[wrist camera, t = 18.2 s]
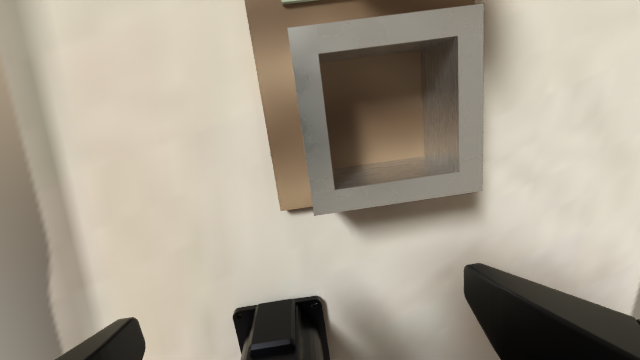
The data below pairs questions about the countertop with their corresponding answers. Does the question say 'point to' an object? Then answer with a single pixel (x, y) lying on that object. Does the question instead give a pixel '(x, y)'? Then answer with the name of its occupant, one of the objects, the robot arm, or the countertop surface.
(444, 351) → the countertop surface
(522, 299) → the robot arm
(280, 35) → the stand board
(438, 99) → the socket
